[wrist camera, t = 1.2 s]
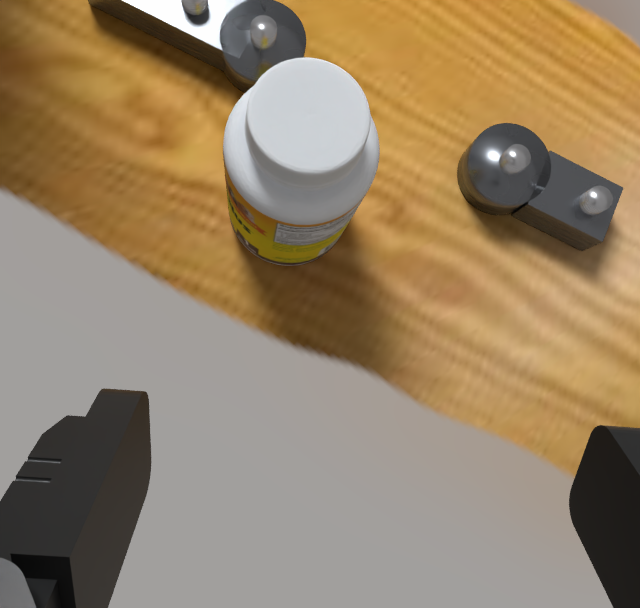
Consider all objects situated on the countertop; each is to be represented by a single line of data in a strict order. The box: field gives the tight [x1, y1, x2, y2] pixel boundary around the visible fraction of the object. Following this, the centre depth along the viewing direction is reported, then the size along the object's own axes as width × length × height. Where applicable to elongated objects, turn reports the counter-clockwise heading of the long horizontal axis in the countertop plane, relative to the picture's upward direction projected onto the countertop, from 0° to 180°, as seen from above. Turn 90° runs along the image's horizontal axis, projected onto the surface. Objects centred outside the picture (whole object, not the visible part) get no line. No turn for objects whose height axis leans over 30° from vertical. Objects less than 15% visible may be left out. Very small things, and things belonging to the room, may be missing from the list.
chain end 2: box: [457, 123, 623, 251], centre depth 30 cm, size 8×4×3 cm, turn 64°
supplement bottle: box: [223, 58, 379, 266], centre depth 24 cm, size 6×6×10 cm
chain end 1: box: [88, 0, 306, 93], centre depth 29 cm, size 10×4×3 cm, turn 65°
